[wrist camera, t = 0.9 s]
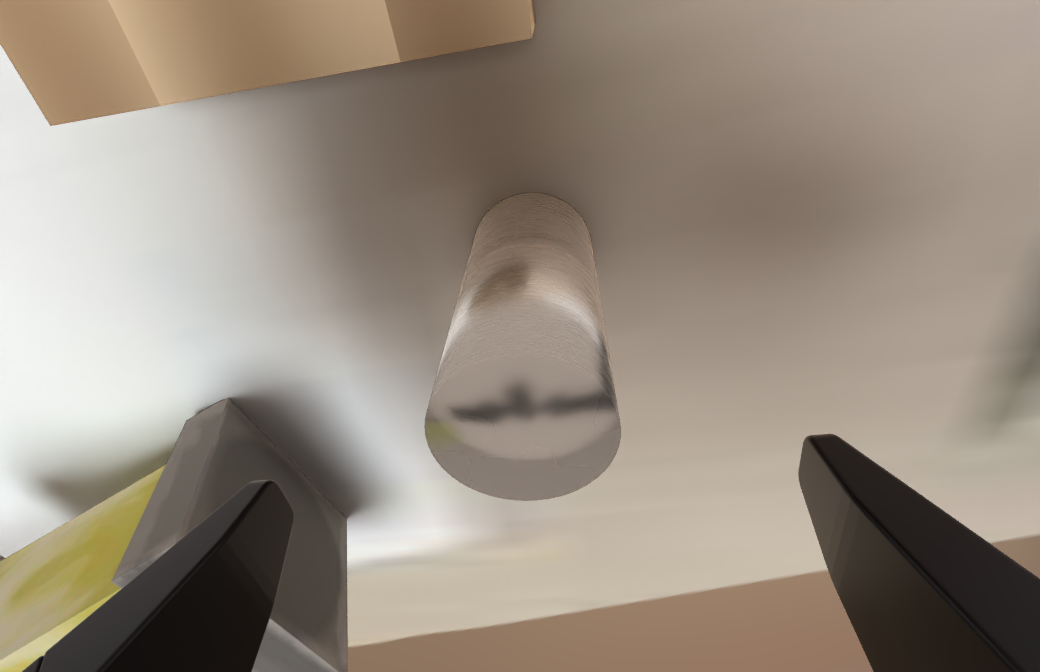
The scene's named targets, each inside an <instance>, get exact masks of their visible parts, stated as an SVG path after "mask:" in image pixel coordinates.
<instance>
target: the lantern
mask: <svg viewBox="0 0 1040 672" xmlns="http://www.w3.org/2000/svg"><path fill="white" fill-rule="evenodd" d="M258 480H274V481H276V482H277V483H278V484H279V486H280V488H281V489H282V491H283V493H284V494H285V496H286V498H287V499H288V501H289V503H290V504H291V506H292V508H293V511H294V523H293V528H292V532H291V536H290V540H289V545H288V549H287V553H286V558H285V562H284V566H283V570H282V575H281V579H280V583H279V588H278V592H277V595H276V599H275V603H274V606H273V610H272V613H271V616H270V619H269V622H268V625H267V628H266V631H265V634H264V637H263V640H262V643H261V646H260V649H259V651H258V654H257V657H256V660H255V663H254V666H253V669H252V672H348V637H347V519H346V518H345V516H344V515H343V514H342V513H341V512H340V511H339V510H338V509H337V508H336V507H335V506H334V505H333V504H332V503H331V502H330V501H329V500H328V499H327V498H326V497H325V496H324V495H323V494H322V493H321V492H320V491H319V490H318V489H317V488H316V487H315V486H314V485H313V484H312V483H311V482H310V481H309V480H308V479H307V478H306V477H305V476H304V475H303V474H302V473H301V471H300V470H299V469H298V468H297V467H296V466H295V465H294V464H293V463H292V462H291V461H290V460H289V459H288V458H287V457H286V456H285V455H284V454H283V453H282V452H281V451H280V450H279V449H278V448H277V447H276V446H275V445H274V444H273V443H272V442H271V441H270V440H269V439H268V438H267V437H266V436H265V435H264V434H263V433H262V432H261V431H260V430H259V429H258V428H257V426H256V425H255V424H254V423H253V422H252V421H251V420H250V419H249V418H248V417H247V416H246V415H245V414H244V413H243V412H242V411H241V410H240V409H239V408H238V407H237V406H236V405H235V404H234V403H233V402H232V401H231V400H230V399H229V398H226V399H224V400H221V401H219V402H217V403H216V404H214V405H212V406H210V407H209V408H207V409H205V410H204V411H202V412H200V413H198V414H197V415H195V416H193V417H192V418H190V419H188V420H186V423H185V425H184V427H183V429H182V431H181V433H180V435H179V438H178V440H177V442H176V444H175V446H174V448H173V450H172V453H171V455H170V457H169V459H168V461H167V463H166V465H164V466H162V467H161V468H159V469H157V470H156V471H154V472H152V473H150V474H149V475H147V476H145V477H144V478H142V479H140V480H139V481H137V482H135V483H133V484H132V485H130V486H128V487H127V488H125V489H123V490H121V491H120V492H118V493H116V494H115V495H113V496H111V497H110V498H108V499H106V500H104V501H103V502H101V503H99V504H98V505H96V506H94V507H92V508H91V509H89V510H87V511H86V512H84V513H82V514H81V515H79V516H77V517H75V518H74V519H72V520H70V521H69V522H67V523H65V524H63V525H62V526H60V527H58V528H57V529H55V530H53V531H51V532H50V533H48V534H46V535H45V536H43V537H41V538H40V539H38V540H36V541H34V542H33V543H31V544H29V545H28V546H26V547H24V548H22V549H21V550H19V551H17V552H16V553H14V554H12V555H11V556H9V557H7V558H4V557H2V556H0V672H22V671H23V670H24V669H25V668H27V667H28V666H29V665H30V664H31V663H33V662H34V661H35V660H36V659H37V658H39V657H40V656H44V655H45V652H46V651H47V650H48V649H50V648H51V647H52V646H53V645H54V644H56V643H57V642H58V641H59V640H60V639H62V638H63V637H64V636H65V635H66V634H68V633H69V632H70V631H71V630H72V629H74V628H75V627H76V626H77V625H78V624H80V623H81V622H82V621H83V620H84V619H86V618H87V617H88V616H89V615H90V614H92V613H93V612H94V611H95V610H96V609H98V608H99V607H100V606H101V605H102V604H104V603H105V602H106V601H107V600H108V599H110V598H111V597H112V596H113V595H114V594H116V593H117V592H118V591H119V590H120V589H122V588H123V587H124V586H125V585H126V584H128V583H129V582H130V581H131V580H132V579H134V578H135V577H136V576H137V575H138V574H140V573H141V572H142V571H143V570H144V569H146V568H147V567H148V566H149V565H150V564H152V563H153V562H154V561H155V560H157V559H158V558H159V557H160V556H161V555H163V554H164V553H165V552H166V551H167V550H169V549H170V548H171V547H172V546H173V545H175V544H176V543H177V542H178V541H179V540H181V539H182V538H183V537H184V536H185V535H187V534H188V533H189V532H190V531H191V530H193V529H194V528H195V527H196V526H197V525H199V524H200V523H201V522H202V521H203V520H205V519H206V518H207V517H208V516H209V515H211V514H212V513H213V512H214V511H215V510H217V509H218V508H219V507H220V506H221V505H223V504H224V503H225V502H226V501H227V500H229V499H230V498H231V497H232V496H233V495H235V494H236V493H237V492H238V491H239V490H241V489H242V488H243V487H244V486H245V485H247V484H248V483H250V482H252V481H258Z"/></svg>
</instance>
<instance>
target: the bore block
mask: <svg viewBox="0 0 1040 672" xmlns="http://www.w3.org/2000/svg"><path fill="white" fill-rule="evenodd" d="M535 24H536V17H535V9H534V2H533V0H0V44H1V46H2V47H3V49H4V51H5V52H6V54H7V56H8V57H9V59H10V61H11V62H12V64H13V65H14V67H15V69H16V70H17V72H18V74H19V75H20V77H21V78H22V80H23V82H24V83H25V85H26V87H27V88H28V90H29V92H30V93H31V95H32V96H33V98H34V100H35V101H36V103H37V105H38V106H39V108H40V110H41V111H42V113H43V114H44V116H45V118H46V119H47V121H48V123H49V124H50V126H53V125H58V124H64V123H69V122H75V121H80V120H86V119H91V118H97V117H102V116H108V115H113V114H119V113H124V112H130V111H135V110H141V109H146V108H152V107H157V106H163V105H168V104H174V103H179V102H185V101H190V100H196V99H201V98H207V97H212V96H218V95H223V94H229V93H234V92H240V91H245V90H251V89H256V88H262V87H267V86H273V85H278V84H284V83H289V82H295V81H300V80H306V79H311V78H317V77H322V76H328V75H333V74H339V73H344V72H350V71H355V70H361V69H366V68H372V67H378V66H383V65H389V64H394V63H400V62H405V61H411V60H416V59H422V58H427V57H433V56H438V55H444V54H449V53H455V52H460V51H466V50H471V49H477V48H482V47H488V46H493V45H499V44H504V43H510V42H515V41H521V40H526V39H532V37H533V32H534V28H535Z"/></svg>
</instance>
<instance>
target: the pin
mask: <svg viewBox="0 0 1040 672" xmlns="http://www.w3.org/2000/svg"><path fill="white" fill-rule="evenodd" d="M425 436H426V439H427V443H428V446H429V448H430V450H431V453H432V454H433V456H434V457H435V459H436V461H437V462H438V463H439V464H440V465H441V467H442V468H443V469H444V470H445V471H446V472H447V473H449V474H450V475H451V476H452V477H453V478H455V479H456V480H458V481H459V482H460V483H462V484H464V485H466V486H468V487H469V488H472V489H474V490H476V491H478V492H481V493H484V494H487V495H490V496H494V497H498V498H503V499H510V500H522V501H529V500H543V499H550V498H555V497H559V496H562V495H566V494H569V493H571V492H574V491H576V490H578V489H580V488H582V487H584V486H586V485H588V484H589V483H591V482H592V481H593V480H595V479H596V478H597V477H599V476H600V475H601V474H602V473H603V472H604V471H605V470H606V468H607V467H608V466H609V465H610V463H611V462H612V460H613V458H614V457H615V455H616V453H617V450H618V447H619V443H620V438H621V425H620V419H619V413H618V407H617V400H616V394H615V388H614V382H613V375H612V369H611V363H610V357H609V350H608V344H607V338H606V332H605V325H604V319H603V313H602V307H601V300H600V294H599V288H598V282H597V275H596V269H595V263H594V257H593V250H592V244H591V238H590V234H589V231H588V228H587V226H586V224H585V222H584V220H583V219H582V217H581V216H580V215H579V214H578V213H577V211H576V210H575V209H573V208H572V207H571V206H570V205H569V204H567V203H565V202H564V201H562V200H560V199H558V198H556V197H553V196H550V195H546V194H540V193H524V194H519V195H514V196H512V197H509V198H506V199H504V200H502V201H500V202H499V203H498V204H496V205H495V206H493V207H492V208H491V209H490V210H489V211H488V212H487V213H486V214H485V216H484V217H483V218H482V220H481V222H480V223H479V226H478V228H477V230H476V234H475V237H474V241H473V245H472V248H471V252H470V256H469V259H468V263H467V267H466V270H465V274H464V278H463V281H462V285H461V289H460V292H459V296H458V300H457V303H456V307H455V311H454V314H453V318H452V322H451V325H450V329H449V333H448V336H447V340H446V344H445V347H444V351H443V355H442V358H441V362H440V365H439V369H438V373H437V376H436V380H435V384H434V387H433V391H432V395H431V398H430V402H429V406H428V409H427V413H426V417H425Z"/></svg>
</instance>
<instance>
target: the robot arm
mask: <svg viewBox="0 0 1040 672" xmlns="http://www.w3.org/2000/svg"><path fill="white" fill-rule="evenodd" d="M799 482H800V486H801V489H802V493H803V496H804V499H805V502H806V505H807V508H808V511H809V514H810V517H811V520H812V523H813V526H814V529H815V532H816V535H817V538H818V541H819V544H820V547H821V550H822V553H823V556H824V559H825V562H826V565H827V568H828V571H829V574H830V576H831V579H832V581H833V583H834V586H835V588H836V590H837V593H838V595H839V597H840V600H841V602H842V604H843V606H844V608H845V610H846V613H847V615H848V617H849V619H850V621H851V624H852V626H853V628H854V630H855V632H856V634H857V636H858V639H859V641H860V643H861V645H862V648H863V650H864V652H865V654H866V656H867V658H868V660H869V663H870V665H871V667H872V669H873V672H1040V579H1039V578H1038V577H1037V576H1035V575H1034V574H1032V573H1031V572H1029V571H1028V570H1027V569H1025V568H1024V567H1022V566H1021V565H1019V564H1018V563H1017V562H1015V561H1014V560H1012V559H1010V557H1008V556H1007V555H1005V554H1004V553H1003V552H1001V551H1000V550H998V549H997V548H995V547H994V546H993V545H991V544H990V543H988V542H987V541H986V540H984V539H983V538H981V537H980V536H978V535H977V534H976V533H974V532H973V531H971V530H970V529H969V528H967V527H966V526H964V525H963V524H961V523H960V522H959V521H957V520H956V519H954V518H953V517H952V516H950V515H949V514H947V513H946V512H944V511H943V510H942V509H940V508H939V507H937V506H936V505H935V504H933V503H932V502H930V501H929V500H927V499H926V498H925V497H923V496H922V495H920V494H919V493H918V492H916V491H915V490H913V489H912V488H910V487H909V486H908V485H906V484H905V483H903V482H902V481H901V480H899V479H898V478H896V477H895V476H893V475H892V474H891V473H889V472H888V471H886V470H885V469H884V468H882V467H881V466H879V465H878V464H876V463H875V462H874V461H872V460H871V459H869V458H868V457H867V456H865V455H864V454H862V453H861V452H859V451H858V450H857V449H855V448H854V447H852V446H851V445H850V444H848V443H847V442H845V441H844V440H842V439H841V438H840V437H838V436H836V435H834V434H822V435H810V436H807V437H806V438H805V440H804V442H803V448H802V454H801V459H800V465H799ZM293 523H294V511H293V508H292V506H291V504H290V503H289V501H288V499H287V498H286V496H285V494H284V493H283V491H282V489H281V488H280V486H279V484H278V483H277V482H276V481H274V480H258V481H252V482H250V483H248V484H247V485H245V486H244V487H243V488H242V489H241V490H239V491H238V492H237V493H236V494H235V495H233V496H232V497H231V498H230V499H229V500H227V501H226V502H225V503H224V504H223V505H221V506H220V507H219V508H218V509H217V510H215V511H214V512H213V513H212V514H211V515H209V516H208V517H207V518H206V519H205V520H203V521H202V522H201V523H200V524H199V525H197V526H196V527H195V528H194V529H193V530H191V531H190V532H189V533H188V534H187V535H185V536H184V537H183V538H182V539H181V540H179V541H178V542H177V543H176V544H175V545H173V546H172V547H171V548H170V549H169V550H167V551H166V552H165V553H164V554H163V555H161V556H160V557H159V558H158V559H157V560H155V561H154V562H153V563H152V564H150V565H149V566H148V567H147V568H146V569H144V570H143V571H142V572H141V573H140V574H138V575H137V576H136V577H135V578H134V579H132V580H131V581H130V582H129V583H128V584H126V585H125V586H124V587H123V588H122V589H120V590H119V591H118V592H117V593H116V594H114V595H113V596H112V597H111V598H110V599H108V600H107V601H106V602H105V603H104V604H102V605H101V606H100V607H99V608H98V609H96V610H95V611H94V612H93V613H92V614H90V615H89V616H88V617H87V618H86V619H84V620H83V621H82V622H81V623H80V624H78V625H77V626H76V627H75V628H74V629H72V630H71V631H70V632H69V633H68V634H66V635H65V636H64V637H63V638H62V639H60V640H59V641H58V642H57V643H56V644H54V645H53V646H52V647H51V648H50V649H48V650H47V651H46V652H45V655H44V656H40V657H39V658H37V659H36V660H35V661H34V662H33V663H31V664H30V665H29V666H28V667H27V668H25V669H24V670H23V671H22V672H252V669H253V666H254V663H255V660H256V657H257V654H258V651H259V649H260V646H261V643H262V640H263V637H264V634H265V631H266V628H267V625H268V622H269V619H270V616H271V613H272V610H273V606H274V603H275V599H276V595H277V592H278V588H279V583H280V579H281V575H282V570H283V566H284V562H285V558H286V553H287V549H288V545H289V540H290V536H291V532H292V528H293Z"/></svg>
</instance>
